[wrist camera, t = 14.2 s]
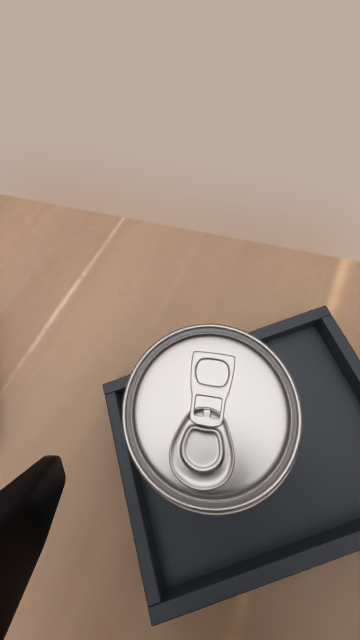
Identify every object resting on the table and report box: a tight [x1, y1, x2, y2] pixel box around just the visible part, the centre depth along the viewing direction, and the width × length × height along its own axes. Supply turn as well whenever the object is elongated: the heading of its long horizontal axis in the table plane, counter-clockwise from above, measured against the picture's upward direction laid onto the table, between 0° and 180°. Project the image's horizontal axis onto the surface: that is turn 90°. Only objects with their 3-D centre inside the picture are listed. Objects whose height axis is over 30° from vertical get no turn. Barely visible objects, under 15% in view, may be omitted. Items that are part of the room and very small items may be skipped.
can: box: [122, 324, 302, 515], centre depth 14 cm, size 6×6×12 cm
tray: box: [103, 306, 360, 626], centre depth 18 cm, size 14×18×2 cm
